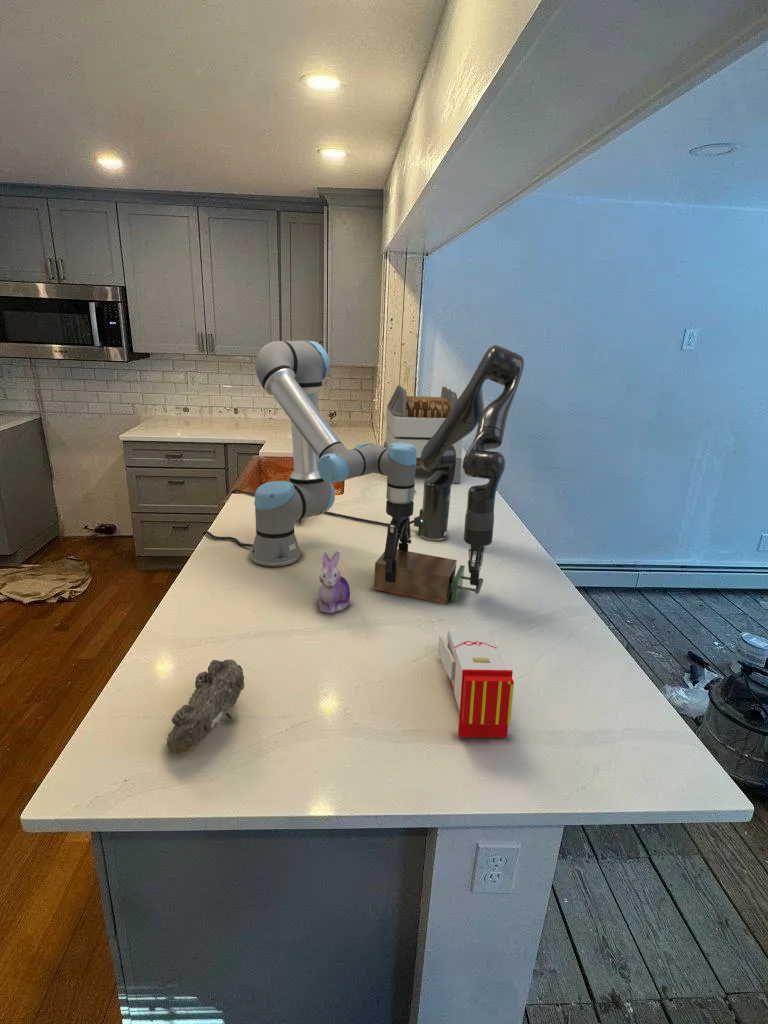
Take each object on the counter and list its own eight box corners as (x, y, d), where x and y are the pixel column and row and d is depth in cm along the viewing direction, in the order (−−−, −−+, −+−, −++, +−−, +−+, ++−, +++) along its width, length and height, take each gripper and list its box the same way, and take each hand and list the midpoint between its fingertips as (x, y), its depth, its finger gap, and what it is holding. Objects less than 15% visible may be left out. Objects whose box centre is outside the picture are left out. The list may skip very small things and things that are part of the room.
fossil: (192, 660, 117) (244, 628, 112) (224, 691, 120) (276, 661, 115) (142, 746, 98) (202, 712, 93) (182, 779, 101) (242, 748, 96)
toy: (488, 613, 130) (523, 677, 101) (484, 667, 133) (517, 744, 104) (435, 612, 130) (455, 676, 101) (432, 666, 133) (451, 743, 103)
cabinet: (454, 586, 164) (456, 560, 161) (445, 604, 154) (448, 576, 151) (386, 572, 170) (387, 547, 167) (373, 589, 159) (375, 562, 156)
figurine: (324, 618, 144) (324, 564, 139) (310, 599, 152) (310, 548, 147) (358, 610, 148) (359, 558, 143) (342, 593, 156) (343, 543, 151)
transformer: (382, 463, 289) (386, 382, 275) (445, 464, 293) (451, 384, 279) (390, 482, 257) (394, 392, 243) (460, 483, 261) (468, 394, 247)
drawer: (482, 589, 161) (485, 569, 159) (477, 606, 152) (479, 585, 149) (397, 572, 168) (399, 553, 165) (387, 587, 158) (388, 567, 156)
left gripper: (401, 515, 143) (397, 593, 150) (424, 489, 164) (419, 558, 172) (373, 511, 145) (370, 588, 152) (399, 486, 166) (395, 554, 174)
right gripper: (489, 535, 143) (484, 597, 148) (496, 518, 155) (491, 576, 160) (460, 531, 145) (456, 592, 151) (469, 515, 157) (464, 572, 162)
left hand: (396, 572), depth 162 cm, fingers closed on cabinet, 11 cm apart
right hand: (474, 584), depth 155 cm, fingers closed
